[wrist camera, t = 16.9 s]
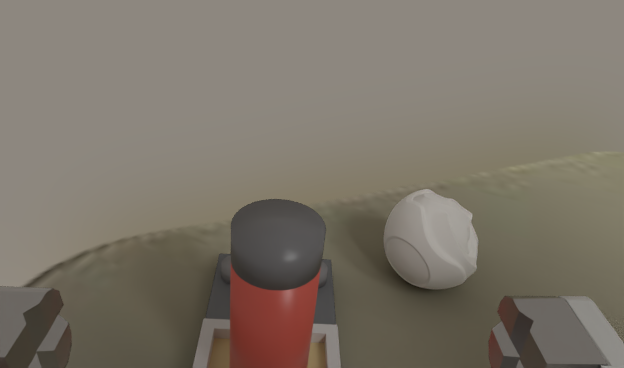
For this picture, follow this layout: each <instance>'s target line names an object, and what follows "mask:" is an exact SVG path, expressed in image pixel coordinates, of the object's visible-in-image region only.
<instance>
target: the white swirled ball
mask: <svg viewBox="0 0 624 368" xmlns="http://www.w3.org/2000/svg"><path fill="white" fill-rule="evenodd" d="M471 220H472V213H470V212H469V211H468V210H466V209H465V208H463V207H462V206H460V204H459V203H458V202H457V201H455V200H454V199H451V198H445V197H442V196H440V195H438V194H436V193H434V192H433V191H432V190H430V189H423V190H419V191H416V192H413V193H411V194H409V195H408V196H406V197H404V198H403V199H402V200H401V201H399V202H398V203H397V204H396V206H395V207H394V208H393V209H392V211H391V213H390V214H389V217H388V219H387V222H386V225H385V230H384V250H385V254H386V257H387V259H388V261H389V263H390V264H391V266H392V267H393V269H394V270H395V271H396V272H397V273H398V275H400V276H401V277H402V278H403V279H404V280H406V281H407V282H409V283H410V284H412V285H415V286H418V287H421V288H426V289H434V290H439V289H448V288H452V287H455V286H458V285H460V284H463V283H464V282H465V280H466V279H467V278H468V277H469V276H471V275H472V274H473V273H474V272H475V271H476V269H477V266H476V259H477V254H478V250H477V247H478V243H479V241H478V238H477V235H476V233H475V230H474V228H473V225H472V223H471Z"/></svg>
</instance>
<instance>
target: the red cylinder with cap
mask: <svg viewBox="0 0 624 368" xmlns="http://www.w3.org/2000/svg"><path fill="white" fill-rule="evenodd" d="M325 233H326V227H325V223H324V221H323V219H322V218H321V216H320V215H319V214H318V213H317V212H315V211H314V210H313V209H311V208H309V207H308V206H305V205H303V204H301V203H298V202H294V201H289V200H281V199H269V200H261V201H257V202H254V203H251V204H248V205H246V206H245V207H243V208H241V209H240V210H239V211H238V212H237V213H236V214H235V215H234V217H233V219H232V222H231V277H230V363H229V368H307V366H308V358H309V351H310V344H311V336H312V329H313V322H314V314H315V307H316V299H317V292H318V285H319V277H320V270H321V263H322V255H323V248H324V240H325Z"/></svg>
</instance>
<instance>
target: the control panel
mask: <svg viewBox="0 0 624 368" xmlns="http://www.w3.org/2000/svg"><path fill="white" fill-rule="evenodd" d="M230 277H231V254H219V258H218V263H217V268H216V272H215V277H214V281H213V286H212V290H211V295H210V299H209V304H208V309H207V313H206V318H204V319H203V323H202V328H201V332H200V336H199V341H198V345H197V350H196V354H195V359H194V363H193V368H229V363H230ZM307 368H341V363H340V350H339V338H338V325H336V319H335V306H334V293H333V280H332V267H331V260H327V259H322V263H321V270H320V277H319V285H318V292H317V299H316V307H315V314H314V322H313V329H312V336H311V344H310V351H309V358H308V366H307Z"/></svg>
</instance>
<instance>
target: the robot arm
mask: <svg viewBox="0 0 624 368" xmlns="http://www.w3.org/2000/svg"><path fill="white" fill-rule="evenodd" d="M63 305H64V304H63V301H62V298H61V295H60V292H59V291H58V290H55V289H53V288H30V287H6V286H0V368H65V367H66V365H67V363H68V360H69V355H70V351H71V346H72V340H71V330H70V326H69V323H68V322H67V321H66V320H65V319H63V318H62V317H61V316H60V315H59V312H60V310H61V309H62V307H63ZM497 312H498V314H499V316H500V318H501V320H502V321H501V322H500V323H499V324H497V325H496V326H495V327H494V328H492V331H491V335H490V339H489V360H490V364H491V368H624V343H623V341H622V340H621V338H620V337H619V336H618V334H617V333H616V332H615V330H614V329H613V327H612V326H611V325H610V323H609V322H608V321H607V319H606V318H605V316H604V315H603V314H602V312H601V311H600V310H599V308H598V307H597V305H596V304H595V303H594V301H593V300H591V299H590V298H588V297H587V296H558V297H556V296H505V297H504V298H503V299H502V300H501V302H500V305H499V308H498V311H497Z"/></svg>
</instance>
